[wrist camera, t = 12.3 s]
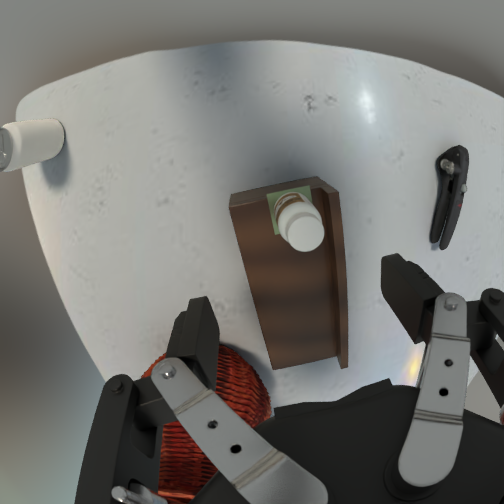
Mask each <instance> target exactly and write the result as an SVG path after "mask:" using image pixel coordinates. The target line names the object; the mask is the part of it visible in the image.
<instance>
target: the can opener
mask: <svg viewBox="0 0 504 504" xmlns="http://www.w3.org/2000/svg"><path fill="white" fill-rule="evenodd" d="M437 165H438V169H439V171H440V174H441V177H442V193H441V197H440V201H439V205H438V208H437V212H436V215H435V219H434V223H433V228H432V233H431V242H432V243H436V242H438V241H439V239H440V236H441V233H442V230H443V227H444V230H443V234H442V237H441V241H440V244H439V247H440V250H444V249H446V248H447V247H448V245H449V242H450V240H451V237H452V235H453V232H454V230H455V227H456V224H457V221H458V218H459V214H460V211H461V207H462V203H463V197H464V192H466V191H467V186H466V180H467V173H468V166H469V154H468V150H467V149H466V148H464V147H463V146H461V145H458V146H454V147H451V148H450V149H448V150H447V151H446V152H444V153H443V154H442V155H441V156H440V157H439V159H438V163H437ZM447 213H448V214H447ZM446 217H447V218H446ZM445 221H446V223H445ZM444 224H445V226H444Z"/></svg>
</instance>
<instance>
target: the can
mask: <svg viewBox="0 0 504 504" xmlns="http://www.w3.org/2000/svg"><path fill="white" fill-rule="evenodd" d="M63 143H64V130H63V127H62V125H61V123H60V122H59V121H58V120H56V119H38V120H28V121H20V122H13V123H8V124H5V125H4V126H2V127H1V128H0V171H5V172H10V171H13V170H16V169H19V168H22V167H25V166H29V165H32V164H35V163H38V162H41V161H45V160H48V159H51V158H53V157H55V156H56V155H57V154H58V153H59V152H60V150H61V149H62V146H63Z"/></svg>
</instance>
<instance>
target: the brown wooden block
mask: <svg viewBox="0 0 504 504" xmlns="http://www.w3.org/2000/svg"><path fill="white" fill-rule="evenodd" d="M289 192H297V193H301V194H303V195H304V196H305V197H307V198H308V200H309V201H310V202H311V203H312V204H313V206H314V207H315V208H316V209H317V211H318V212H319V214H320V216H321V219H322V225H323V227H324V238H323V240H322V242H321V244H320V245H319V246H318V247H317V248H315V249H314V250H311V251H307V252H302V251H298V250H296V249H294V248H293V247H292V246H291V245H290V243H289V242H287V241H286V240H285V239H284V238H283V237H282V236H281V234H280V232H279V229H278V226H277V223H276V219H275V216H274V206H275V204H276V202H277V200H278V199H279V198H280V197H281V196H282V195H284V194H286V193H289ZM229 210H230V214H231V218H232V222H233V226H234V229H235V233H236V237H237V241H238V245H239V248H240V252H241V256H242V260H243V263H244V267H245V271H246V274H247V278H248V282H249V286H250V289H251V293H252V297H253V300H254V304H255V308H256V311H257V315H258V319H259V322H260V326H261V329H262V333H263V337H264V340H265V344H266V347H267V351H268V355H269V358H270V362H271V365H272V369H273V370H276V369H282V368H287V367H292V366H296V365H301V364H306V363H310V362H315V361H319V360H323V359H327V358H331V357H335V356H337V359H338V362H339V365H340V368H341V369H343V368H347V367H348V299H347V277H346V261H345V248H344V237H343V226H342V217H341V208H340V199H339V192H338V191H337V190H336V189H334V188H333V187H331V186H330V185H328V184H327V183H326V182H325V181H323V180H322V179H320V178H319V177H317V176H316V177H311V178H305V179H300V180H295V181H290V182H285V183H280V184H275V185H270V186H266V187H261V188H256V189H252V190H247V191H243V192H239V193H234V194H231V196H230V202H229Z"/></svg>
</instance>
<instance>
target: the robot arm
mask: <svg viewBox="0 0 504 504" xmlns="http://www.w3.org/2000/svg"><path fill="white" fill-rule="evenodd" d="M381 291H382V294H383V297H384V298H385V300H386V301H387V303H388V304H389V306H390V307H391V309H392V310H393V312H394V313H395V315H396V316H397V318H398V319H399V321H400V322H401V324H402V325H403V327H404V328H405V330H406V331H407V333H408V334H409V336H410V337H411V339H412V340H413V342H414V344H417V343H420V342H423V341H424V342H425V344H426V345H425V349H424V354H423V358H422V363H421V367H420V371H419V375H418V379H417V383H416V386H415V387H413V386H407V385H392V383H391V381H390V379H389V378H388V379H385V380H382V381H379V382H376V383H373V384H370V385H367V386H364V387H361V388H360V389H358V390H356V391H354V392H352V393H351V394H349V395H347V396H345V397H343V398H341V399H339V400H337V401H332V402H302V403H297V404H292V405H287V406H282V407H276V408H274V413H275V416H273V417H271V418H269V419H267V420H265V421H263V422H261V423H260V424H258V425H257V426H256V427H254V428H253V429H252V428H251V427H250V426H249V425H248V424H247V423H246V422H245V421H244V420H243V419H241V418H240V417H239V416H238V415H237V414H236V413H235V412H234V411H233V410H232V409H231V408H230V407H229V406H228V405H227V404H226V403H225V402H224V401H223V400H222V399H221V398H220V397H219V396H218V395H217V394H216V393H215V392H216V379H217V364H218V350H219V337H220V333H219V326H218V323H217V320H216V317H215V315H214V312H213V310H212V307H211V304H210V302H209V299H208V298H207V296H204V297H199V298H194V299H190V301H189V305H188V309H187V311H183V312H181V313H180V314H179V316H178V317H177V318H176V319H175V322H174V326H173V330H172V333H171V337H170V340H169V344H168V348H167V352H166V356H165V359H164V360H162V361H160V362H158V363H157V364H156V365H155V366H154V368H153V369H152V371H151V375H150V376H147V377H144V378H142V379H139V380H136V381H133V380H132V379H131V378H130V377H129V376H128V375H125V374H119V375H116V376H113V377H112V378H110V379H109V380H108V381H107V382H106V383H105V385H104V387H103V390H102V393H101V397H100V400H99V403H98V406H97V409H96V413H95V416H94V420H93V423H92V427H91V431H90V434H89V438H88V442H87V446H86V450H85V454H84V458H83V463H82V467H81V472H80V477H79V481H78V486H77V492H76V498H75V504H168V503H167V501H166V499H165V498H164V497H163V496H161V495H160V494H158V483H159V469H160V457H161V446H162V436H163V426H164V425H165V424H168V423H171V422H174V421H177V420H179V422H180V423H181V424H182V426H183V427H184V428H185V430H186V431H187V432H188V434H189V435H190V436H191V437H192V439H193V440H194V441H195V442H196V444H197V445H198V446H199V447H200V449H201V450H202V451H203V452H204V453H205V455H206V456H207V457H208V458H209V459H210V460H211V462H212V463H213V464H214V465H215V466H216V467H217V468H218V471H217V472H216V473H215V474H214V475H213V477H212V478H211V479H210V480H209V481H208V482H207V483H206V485H205V486H204V487H203V488H202V489H201V490H200V491H199V492H198V493H197V495H196V496H195V497H194V498H193V499H192V500H191V501H190V502H189V503H188V504H504V350H503V349H502V347H501V346H500V345H499V343H498V342H497V341H496V339H495V337H496V335H497V334H498V335H499V337H500V338H501V339H502V341H503V342H504V292H502V291H500V290H498V289H494V288H489V289H486V290H484V291H483V292H482V294H481V298H480V300H477V301H468V302H466V301H465V299H464V298H463V297H462V296H460V295H458V294H455V293H445V292H444V291H443V290H442V289H441V288H440V287H439V285H438V284H437V283H436V282H435V281H434V280H433V279H432V278H431V277H429V275H428V274H427V273H426V272H424V270H423V269H422V268H421V267H420V266H419V265H417V264H415V263H413V262H411V261H407V262H406V261H405V260H404V259H403V258H402V257H401V256H400V255H399V254H398V253H395V254H391V255H388V256H384V257H382V260H381ZM470 356H471V357H472V359H473V360H474V362H475V364H476V365H477V367H478V369H479V370H480V372H481V373H482V375H483V377H484V379H485V380H486V382H487V384H488V386H489V387H490V389H491V391H492V393H493V395H494V396H495V399H496V400H497V402H498V404H499V406H500V408H501V410H500V423H497V422H494V421H492V420H489V419H487V418H485V417H482V416H480V415H478V414H475V413H473V412H470V411H468V410H466V409H464V404H465V398H466V390H467V382H468V372H469V360H470Z"/></svg>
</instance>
